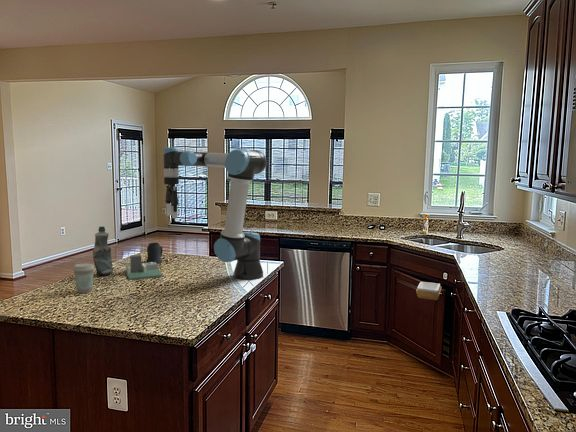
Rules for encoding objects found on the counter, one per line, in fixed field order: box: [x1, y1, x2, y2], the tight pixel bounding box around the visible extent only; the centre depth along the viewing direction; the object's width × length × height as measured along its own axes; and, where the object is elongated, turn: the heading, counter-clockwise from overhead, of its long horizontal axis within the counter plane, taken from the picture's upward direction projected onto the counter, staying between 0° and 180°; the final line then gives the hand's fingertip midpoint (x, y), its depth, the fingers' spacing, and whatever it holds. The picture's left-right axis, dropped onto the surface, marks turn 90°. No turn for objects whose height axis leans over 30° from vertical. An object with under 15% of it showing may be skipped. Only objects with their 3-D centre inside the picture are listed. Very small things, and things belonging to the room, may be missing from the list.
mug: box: [145, 242, 163, 265], centre depth 246 cm, size 12×9×11 cm
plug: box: [129, 254, 142, 272], centre depth 219 cm, size 4×5×8 cm
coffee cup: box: [72, 262, 96, 294], centre depth 186 cm, size 8×8×12 cm
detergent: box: [92, 225, 114, 276], centre depth 214 cm, size 13×7×25 cm, turn 164°
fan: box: [143, 262, 159, 270], centre depth 227 cm, size 6×6×3 cm
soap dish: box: [415, 281, 442, 301], centre depth 187 cm, size 12×10×5 cm
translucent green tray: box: [124, 262, 164, 281], centre depth 218 cm, size 20×16×6 cm
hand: (171, 216), depth 226 cm, fingers open, 13 cm apart
